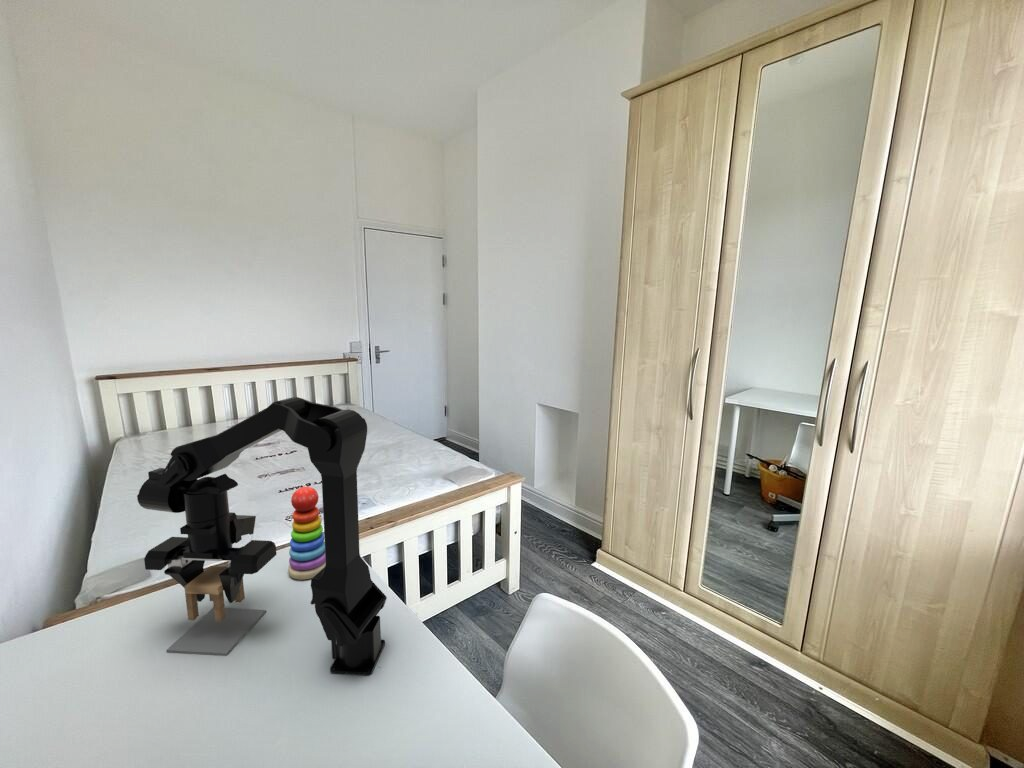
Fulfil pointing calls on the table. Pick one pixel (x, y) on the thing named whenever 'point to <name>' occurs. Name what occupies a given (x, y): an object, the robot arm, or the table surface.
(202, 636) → the mat
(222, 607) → the stool
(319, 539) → the stacking toy
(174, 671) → the table surface
